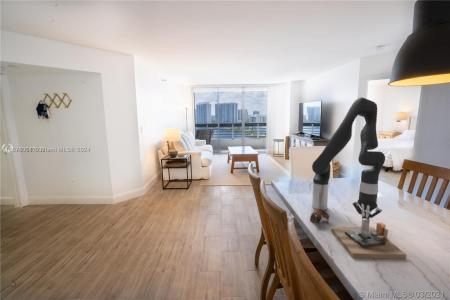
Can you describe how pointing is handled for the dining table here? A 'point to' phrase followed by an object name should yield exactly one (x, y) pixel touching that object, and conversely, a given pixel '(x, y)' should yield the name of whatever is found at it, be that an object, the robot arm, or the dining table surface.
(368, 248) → the post base
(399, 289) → the dining table surface
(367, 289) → the dining table surface
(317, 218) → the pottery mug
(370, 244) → the knobbed grey plate
